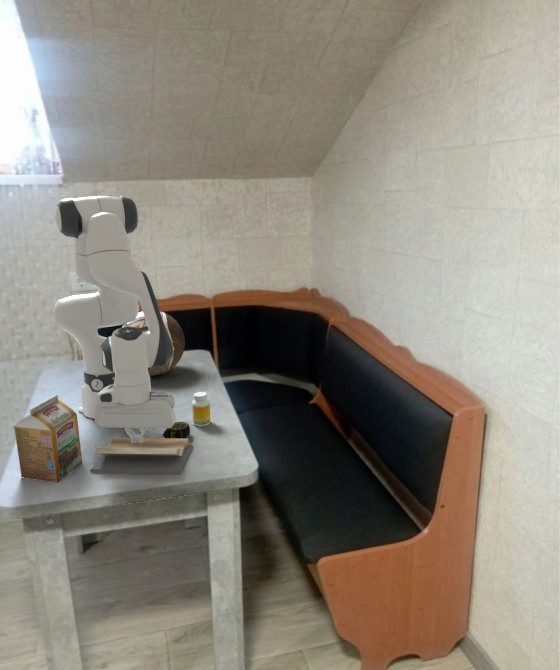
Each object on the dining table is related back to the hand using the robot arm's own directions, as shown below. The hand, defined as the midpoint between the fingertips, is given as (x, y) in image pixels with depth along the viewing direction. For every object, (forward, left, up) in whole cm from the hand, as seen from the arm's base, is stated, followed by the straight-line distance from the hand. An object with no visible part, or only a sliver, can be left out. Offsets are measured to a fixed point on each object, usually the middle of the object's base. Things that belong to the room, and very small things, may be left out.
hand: (137, 442), depth 149 cm
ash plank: (-1, 0, -4) cm, 4 cm away
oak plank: (-8, 0, -6) cm, 10 cm away
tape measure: (-18, +5, -7) cm, 20 cm away
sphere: (-75, -17, -7) cm, 77 cm away
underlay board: (-4, 0, -7) cm, 8 cm away
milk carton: (+3, -22, -7) cm, 23 cm away
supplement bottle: (-28, +11, -7) cm, 31 cm away
